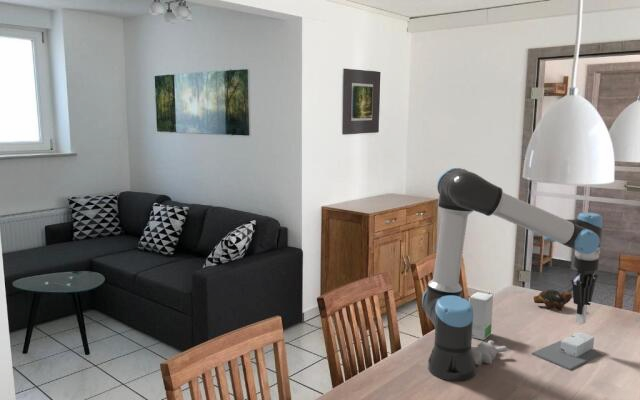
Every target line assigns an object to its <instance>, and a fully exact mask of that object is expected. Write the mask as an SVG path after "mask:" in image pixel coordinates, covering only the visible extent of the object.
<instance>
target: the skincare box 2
mask: <svg viewBox="0 0 640 400" xmlns="http://www.w3.org/2000/svg"><path fill="white" fill-rule="evenodd" d="M563 339H564V340H563ZM563 339H561V340H562V341H561V340H560V341H561V350H560V351H561V352H564V353H566V354H568V355H572V356H575V357H578V356H580V355H582V354H583V353H585V352H587V351H589V350H590V349H592V350H593V349H594V344H595V337H594V336H592V335H589V334H587V333H583V332H580V331H578V332H575V333H574V334H571V335H570V336H568V337H565V338H563Z"/></svg>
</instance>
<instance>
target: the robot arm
mask: <svg viewBox="0 0 640 400" xmlns="http://www.w3.org/2000/svg"><path fill="white" fill-rule="evenodd" d="M436 187H437V192H438V195H439V196H438V205H437V207H438V208H439V210H440V211H441V216H440V222H439V223H440V224H439V231H438V240H437V247H436V255H435V262H434V269H433V277H432V279H431V280H429V281H428V283H427V288H426V290H425V291H424V292H423V294H422V298H421V302H422V303H421V304H422V309H423V311H424V313H425V314H426V316H427V317H428V319H429V320H430V321H431V323H432V325H433V326H434V342H433V345H434V346H433V348H432V350H431V352H430V355H429V358H428V361H427V362H428V363H427V368H428V371H429V372H430V373H431V375H434V376H436V377H437V378H439V379H442V380H447V381H451V382H452V381H453V382H454V381H455V382H460V381H461V382H462V381H468V380H470V379H472V378H474V377H475V375H476V370H477V366H476V365H477V364H476V365H475V362H474V360H473V355H472V351H471V347H472V344H473V343H472V342H473V340H472V338H473V337H472V326H473V317H474V315H473V307H472V304H471V303H470V300H468V299H466V298H464V297H463V298H462V293H463V288H462V285H461V284H460V283H459V282H460V281H459V280H460V273H461V267H462V261H463V260H462V259H463V251H464V246H465V245H464V244H465V237H466V231H467V223H468V217H469V215H470V214H472V213H473V212H476V213H479V214H482V215H485V216H487V217H491V216H495V217H496V218H497V217H498V218H500V219H502V220H505V221H507V222H510V223H512V224H514V225H517V226H519V227H521V228H524V229H526V230H528V231H530V232H533V233H536V234H537V235H540V236H542V238H543V239H544V241H546V242H553V243H554V242H556V243H559V244H561V245H563V246H566V247H568V248H569V249H573V250H574V259H573V260H574V261H573V267H574V268H575V269H576V270H577V271H576V273H575V278H572V279H571V284H572V299H573V300H572V301H573V304H575V305H577V306H576V313H575V315H576V316H575V322H576V323H580V324H583V325H584V324H586V321H587V320H586V319H587V312H588V306H591V304H592V303H591V302H592V299H593V295H594V290H595V286H596V281H597V279H598V275H597V274H595V271H598V269H599V258H600V254H601V251H600V248H601V242H602V241H601V240H602V232H603V231H602V230H603V216H602V214H598V213H594V212H580V213H579V214H578V215H577V218H575V219H567V218H566V219H564V218H562V217H561V216H558V215H556V214H554V213H551V212H549V211H547V210H544V209H542V208H540V207H537V206H535V205H532V204H530V203H528V202H526V201H523V200H521V199H520V198H516V197H514V196H512V195H510V194H509V193H506V192H504V191H503V188H502V187H499V186H497V185H495V184H493V183H492V182H490V181H488V180H487V179H485V178H483V177H482V176H480V175H478V174H477V173H474V172H472V171H469V170H467V169H465V168H461V167H459V168H458V167H456V168H449V169H447V170H445V171H444V172H443V173H441V174H440V175H439V177H438V179H437V184H436Z"/></svg>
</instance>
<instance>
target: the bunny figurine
mask: <svg viewBox="0 0 640 400" xmlns="http://www.w3.org/2000/svg"><path fill="white" fill-rule="evenodd" d="M494 345H495V341H494V340H492V339H491V340H490V339H489V340H488V341H487V342H485V341H481V342H480V343H479V344H478V345H477V346H471V351H472V355H473V360H474V362H475V365H477V366H481V365H482V364H483V363H484V364H493V361H494V360H495V359H496V357H497V355H498V353H506V352H508V348H507V346H506V345H499V346H496V347H495V346H494Z"/></svg>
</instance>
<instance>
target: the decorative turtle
mask: <svg viewBox="0 0 640 400" xmlns="http://www.w3.org/2000/svg"><path fill="white" fill-rule="evenodd" d="M532 299H533V302H534V303H535V304H544V305H545V307H546V309H547V310H552V309H553V308H555V309H556V310H557V311H559V312H561V311H562V310H563V309H564V307H565V305H567V304H568V303H569V302H570V301H571V300H572V299H573V294H572V293H571V292H570V291H563V292H562V293H561V292H560V291H557V290H555V289H547V290H544V291H541V292H539V294H538V295H535V296H533V298H532Z"/></svg>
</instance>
